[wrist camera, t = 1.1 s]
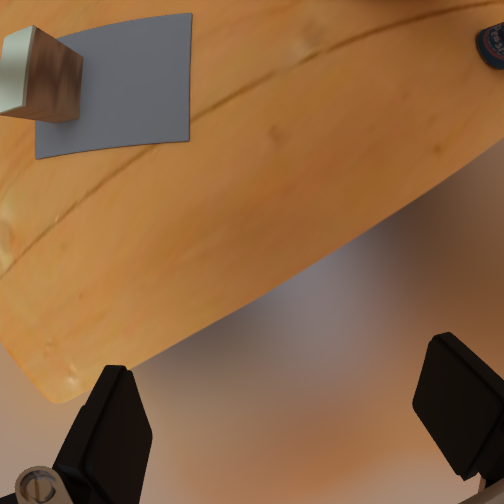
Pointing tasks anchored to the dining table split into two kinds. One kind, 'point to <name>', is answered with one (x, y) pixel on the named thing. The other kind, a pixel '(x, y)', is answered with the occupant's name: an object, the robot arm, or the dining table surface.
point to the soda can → (492, 45)
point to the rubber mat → (126, 87)
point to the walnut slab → (39, 77)
